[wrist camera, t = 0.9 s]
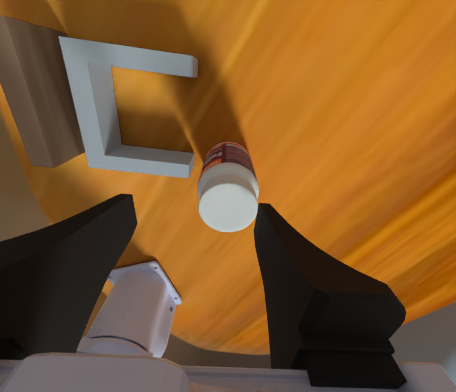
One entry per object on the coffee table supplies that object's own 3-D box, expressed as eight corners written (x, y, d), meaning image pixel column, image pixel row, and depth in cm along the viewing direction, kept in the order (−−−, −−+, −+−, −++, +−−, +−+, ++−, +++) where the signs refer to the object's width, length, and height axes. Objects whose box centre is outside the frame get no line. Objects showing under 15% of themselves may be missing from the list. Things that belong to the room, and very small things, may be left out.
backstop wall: (66, 33, 16) (4, 15, 11) (91, 148, 20) (53, 167, 16) (44, 30, 15) (-27, 11, 11) (74, 146, 20) (31, 165, 16)
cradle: (198, 59, 16) (192, 55, 13) (193, 164, 21) (188, 178, 18) (88, 43, 16) (58, 36, 13) (108, 155, 20) (89, 167, 17)
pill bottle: (215, 132, 19) (207, 165, 12) (259, 152, 20) (277, 193, 13) (198, 174, 21) (182, 223, 14) (238, 190, 22) (244, 244, 15)
